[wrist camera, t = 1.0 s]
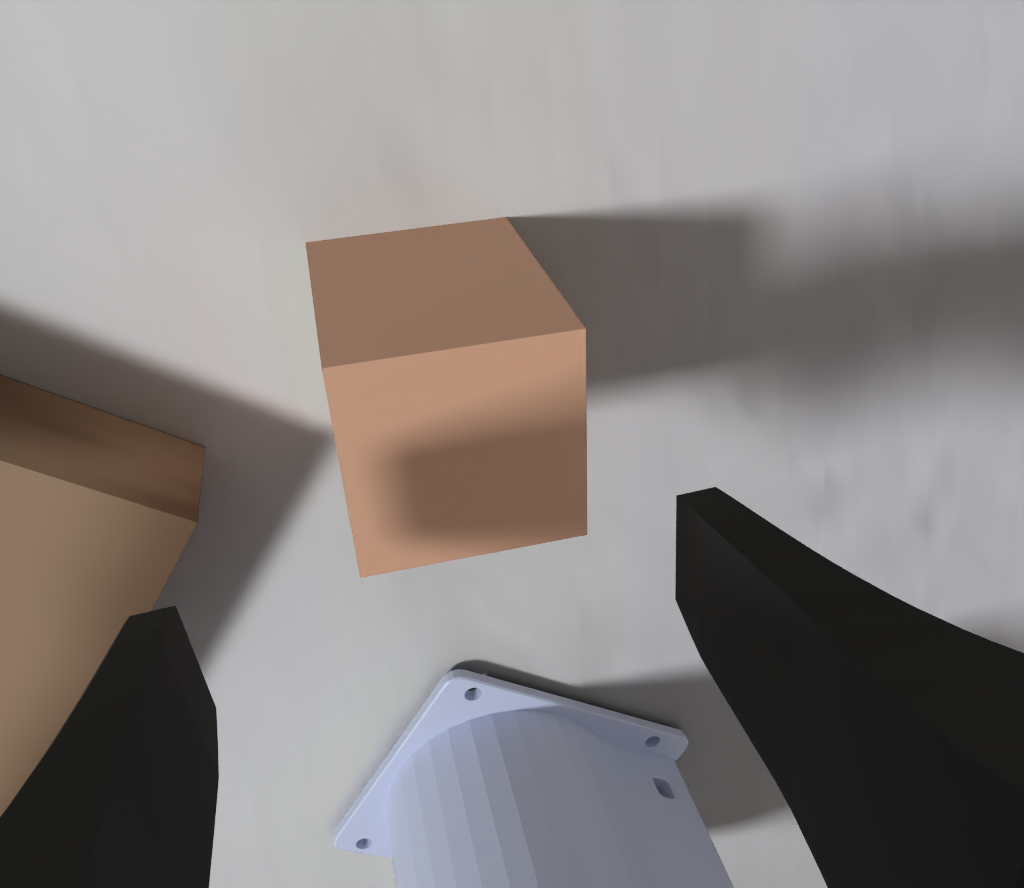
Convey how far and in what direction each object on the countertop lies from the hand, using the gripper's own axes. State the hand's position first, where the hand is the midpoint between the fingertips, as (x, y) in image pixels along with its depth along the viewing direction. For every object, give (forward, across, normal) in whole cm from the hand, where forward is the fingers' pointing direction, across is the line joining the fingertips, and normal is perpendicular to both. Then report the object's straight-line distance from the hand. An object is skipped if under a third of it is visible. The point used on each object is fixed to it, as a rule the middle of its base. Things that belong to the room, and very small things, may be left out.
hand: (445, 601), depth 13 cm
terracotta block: (+10, -1, 0) cm, 10 cm away
